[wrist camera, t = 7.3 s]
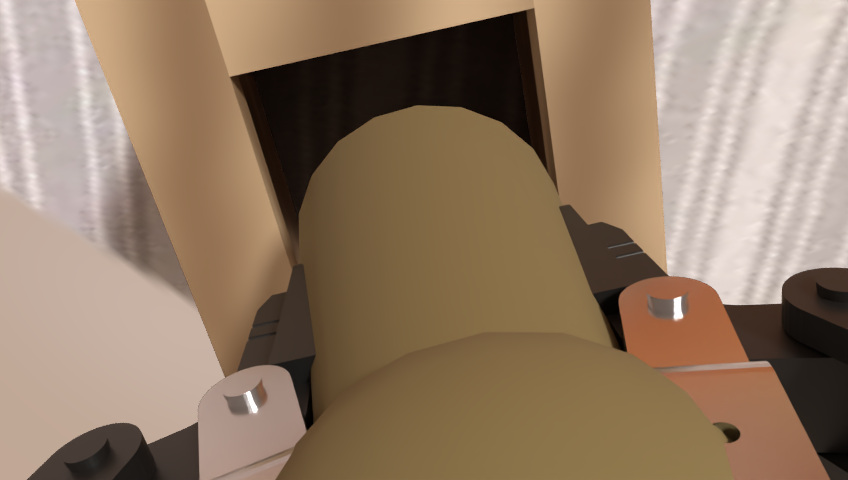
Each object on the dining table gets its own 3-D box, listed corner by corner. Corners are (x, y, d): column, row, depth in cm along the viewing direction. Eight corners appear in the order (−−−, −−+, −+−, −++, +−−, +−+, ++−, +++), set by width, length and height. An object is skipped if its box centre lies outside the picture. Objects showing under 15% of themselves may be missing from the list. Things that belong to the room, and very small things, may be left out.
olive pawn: (420, 391, 16) (507, 1079, 6) (240, 232, 14) (-74, 863, 4) (611, 240, 15) (1107, 784, 5) (443, 42, 13) (701, 281, 3)
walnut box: (520, -96, 27) (640, -152, 15) (559, 207, 33) (671, 341, 21) (198, -24, 27) (65, -22, 15) (292, 267, 33) (248, 436, 21)
